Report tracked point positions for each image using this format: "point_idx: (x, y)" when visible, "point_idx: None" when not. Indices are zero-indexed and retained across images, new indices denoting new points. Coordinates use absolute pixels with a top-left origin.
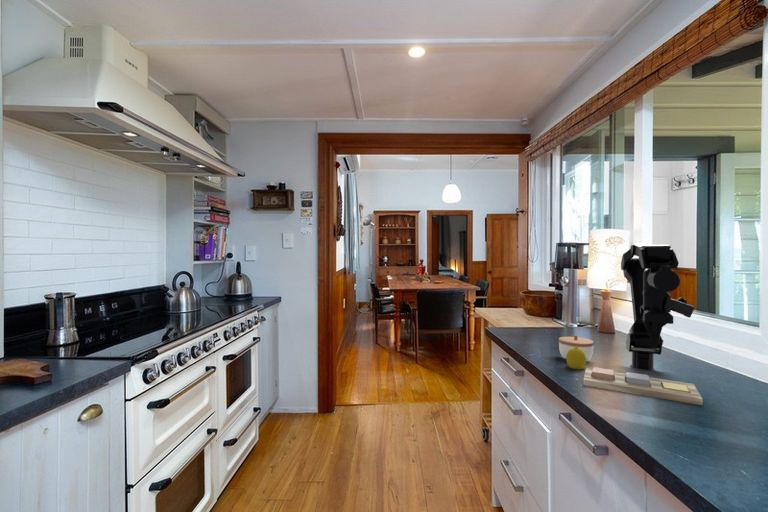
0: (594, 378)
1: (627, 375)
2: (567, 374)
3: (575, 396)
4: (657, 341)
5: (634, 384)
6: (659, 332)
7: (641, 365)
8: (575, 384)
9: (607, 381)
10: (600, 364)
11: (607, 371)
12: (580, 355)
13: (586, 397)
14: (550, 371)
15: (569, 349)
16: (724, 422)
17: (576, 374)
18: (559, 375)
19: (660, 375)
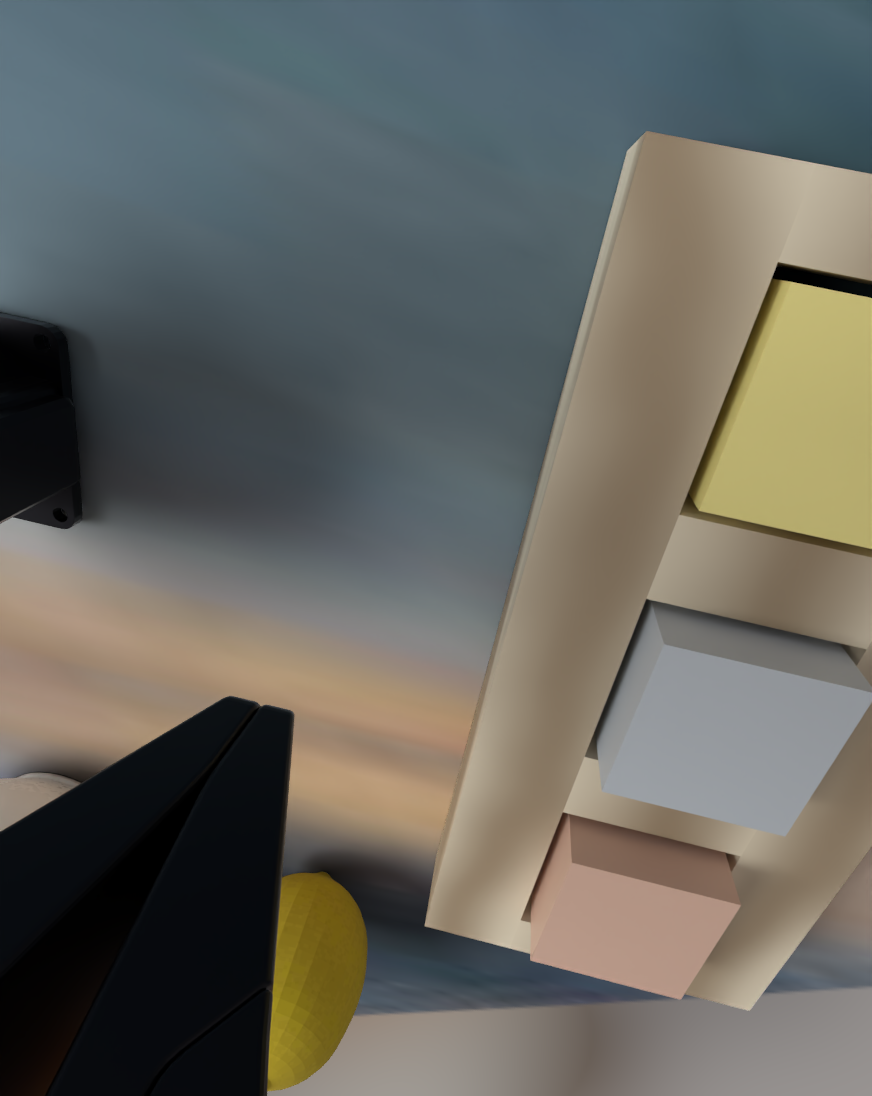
0: None
1: (729, 816)
2: (404, 925)
3: (859, 987)
4: (291, 753)
5: None
6: (268, 1042)
7: (36, 478)
8: None
9: (769, 903)
10: (9, 687)
11: (637, 912)
12: (330, 1019)
13: (869, 946)
14: (383, 984)
15: None
16: None
17: (378, 883)
18: (448, 964)
19: (35, 276)
